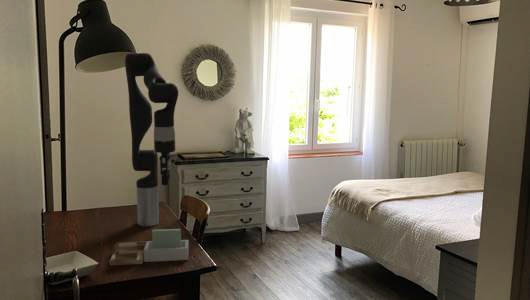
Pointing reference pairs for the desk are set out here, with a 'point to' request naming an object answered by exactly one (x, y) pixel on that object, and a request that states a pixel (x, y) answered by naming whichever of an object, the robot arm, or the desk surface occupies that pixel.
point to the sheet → (166, 238)
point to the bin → (166, 252)
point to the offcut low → (125, 256)
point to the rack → (128, 262)
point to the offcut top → (128, 248)
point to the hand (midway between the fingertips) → (165, 182)
